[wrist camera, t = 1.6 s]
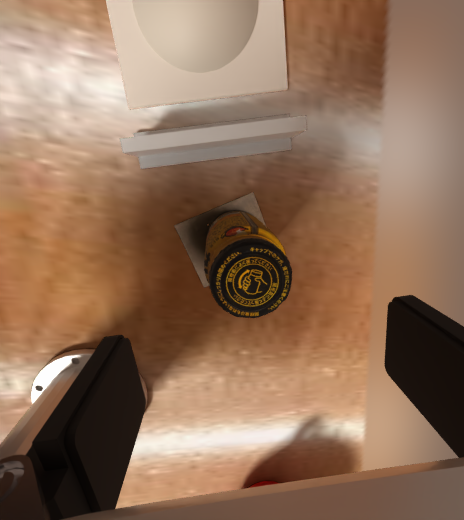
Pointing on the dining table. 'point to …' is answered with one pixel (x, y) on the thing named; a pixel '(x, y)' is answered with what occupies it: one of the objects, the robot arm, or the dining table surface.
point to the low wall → (214, 140)
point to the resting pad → (198, 49)
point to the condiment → (238, 257)
